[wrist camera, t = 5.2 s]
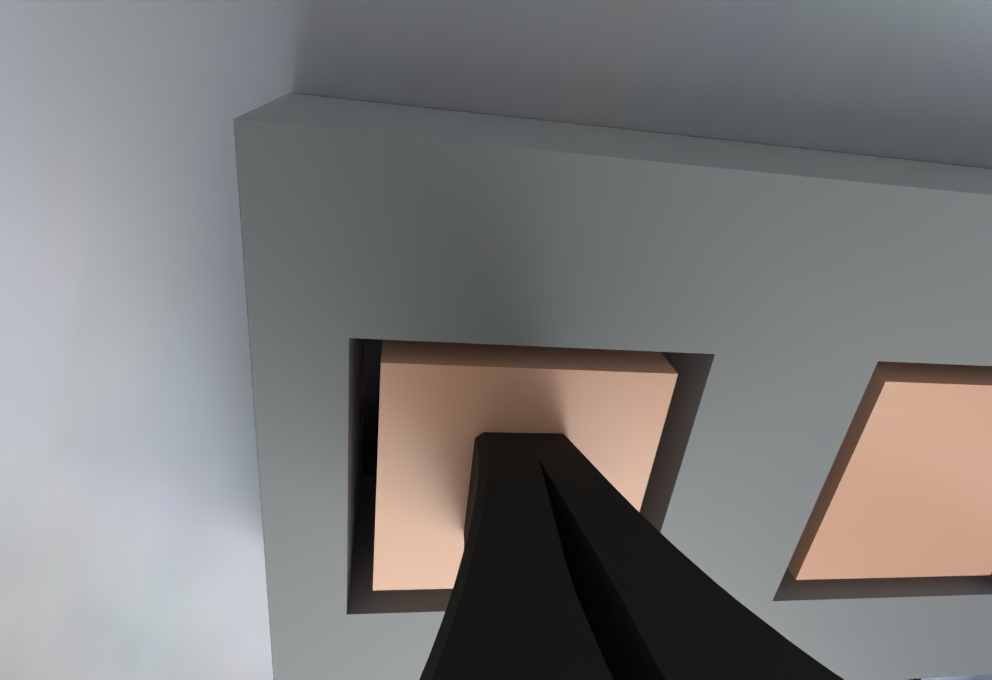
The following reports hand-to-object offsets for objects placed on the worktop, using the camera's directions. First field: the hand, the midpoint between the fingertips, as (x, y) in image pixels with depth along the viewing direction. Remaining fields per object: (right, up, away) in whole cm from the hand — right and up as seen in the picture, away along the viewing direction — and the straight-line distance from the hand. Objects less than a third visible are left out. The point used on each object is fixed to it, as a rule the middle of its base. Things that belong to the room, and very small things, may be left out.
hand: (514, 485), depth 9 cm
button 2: (+7, +1, +4) cm, 8 cm away
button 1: (0, +1, +3) cm, 3 cm away
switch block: (+3, +1, +4) cm, 5 cm away
